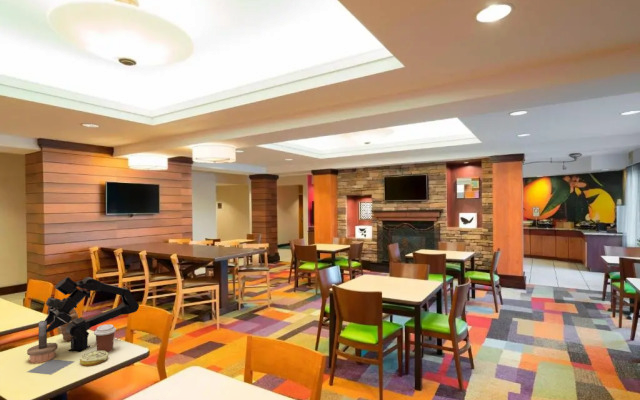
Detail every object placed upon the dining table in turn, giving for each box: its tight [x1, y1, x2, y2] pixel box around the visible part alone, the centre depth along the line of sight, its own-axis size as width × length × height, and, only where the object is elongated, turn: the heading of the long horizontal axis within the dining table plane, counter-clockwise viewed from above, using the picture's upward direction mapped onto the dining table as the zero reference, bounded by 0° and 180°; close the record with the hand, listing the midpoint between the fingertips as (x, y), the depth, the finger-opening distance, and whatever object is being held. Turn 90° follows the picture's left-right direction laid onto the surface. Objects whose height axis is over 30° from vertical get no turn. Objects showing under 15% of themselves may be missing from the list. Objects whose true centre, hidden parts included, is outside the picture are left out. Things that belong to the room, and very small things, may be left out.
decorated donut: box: [79, 350, 109, 367], centre depth 160 cm, size 10×11×4 cm
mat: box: [26, 358, 75, 375], centre depth 155 cm, size 12×12×1 cm
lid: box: [26, 320, 59, 356], centre depth 162 cm, size 11×11×13 cm
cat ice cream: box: [60, 308, 79, 342], centre depth 183 cm, size 9×8×18 cm
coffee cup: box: [93, 324, 117, 354], centre depth 171 cm, size 9×9×12 cm
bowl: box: [29, 350, 56, 364], centre depth 162 cm, size 9×9×4 cm
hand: (44, 329), depth 163 cm, fingers open, 9 cm apart
